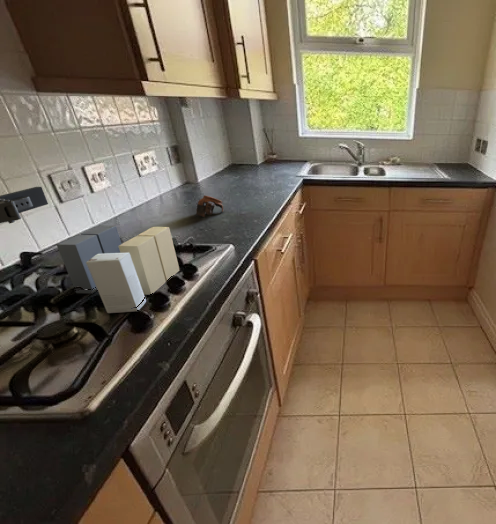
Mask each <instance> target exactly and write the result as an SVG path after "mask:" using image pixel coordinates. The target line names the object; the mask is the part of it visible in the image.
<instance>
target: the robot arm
mask: <svg viewBox="0 0 496 524" xmlns="http://www.w3.org/2000/svg"><path fill="white" fill-rule="evenodd" d="M47 205H49V202H48V199H47V197H46V195H45V192H44V190H43V187H42V186H34V187H33V186H32V187H30V188H26V189H21V190H17V191H13V192H9V193H5V194H1V195H0V224H3V223H8V224H13V223H15V222H16V221H19V220H21V219H22V217H21V215H20V214H21V213H24V212H27V211H32V210H34V209H37V208H40V207H43V206H47Z"/></svg>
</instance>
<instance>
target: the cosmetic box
mask: <svg viewBox="0 0 496 524" xmlns="http://www.w3.org/2000/svg"><path fill="white" fill-rule="evenodd" d="M86 264H87V266H88V268H89V271H90V273H91V275H92V278H93V280H94V282H95V285H96V287H97V290H98V291H97V292H98V294H99V297H100V299H101V301H102V303H103V306H104V309H105V311H106V313H107V314H116V313H132V312H138V311H137V310H139V311H140V310H141V309H142V308H143V307H144V305H145V304H146V303H147V299H146V295H144V293H143V290H142V288H141V285H140V282H139V279H138V276H137V273H136V270H135V267H134V265H133V262H132V259H131V256H130V253H107V254H97V255H95V256H94V257H93V258H91V259H90V260H89V261H87V262H86ZM144 297H145V299H144ZM143 299H144V301H143V302H142V300H143ZM141 302H142V303H141ZM140 303H141V304H140ZM139 304H140V305H139ZM138 305H139V306H138ZM137 306H138V307H137ZM133 307H137V308H133ZM131 308H133V309H131Z"/></svg>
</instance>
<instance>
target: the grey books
mask: <svg viewBox="0 0 496 524" xmlns="http://www.w3.org/2000/svg"><path fill="white" fill-rule="evenodd" d="M121 244H123V242H122V241H121V237H120V233H119V231H118V227H117V225H100V224H99V225H98V226H94V227H93V228H90V229H88V230H86V231H84V232H81V233H80V234H76V235H74V236H73V237H70V238H67V239H65V240H63V241H60V242H58V243H56V248H57V250H58V253H59V254H60V257H61V259H62V261H63V264H64V267H65V269H66V272H67V274H68V277H69V279H70V282H71V284H72V286H73V288H74V287H77V286H79V287H82V288H84V289H91V290H79V291H75V293H76V294H91V293H90V292H91V291H93V290H94V289H96V288H97V287H96V285H95V282H94V280H93V278H92V275H91V273H90V271H89V268H88V266H87V264H86V262H87V261H89V260H90V259H91V258H93V257H94V256H95V255H97V254H107V253H120V250H119V247H118V246H119V245H121ZM95 287H96V288H95ZM93 288H94V289H93ZM92 289H93V290H92Z"/></svg>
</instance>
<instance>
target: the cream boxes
mask: <svg viewBox="0 0 496 524" xmlns="http://www.w3.org/2000/svg"><path fill="white" fill-rule="evenodd" d="M118 247H119V250H120V253H130V256H131V259H132V262H133V265H134V267H135V270H136V273H137V276H138V279H139V282H140V285H141V288H142V290H143V293H144V296H147V295H148V296H151V295H150V294H152V293H153V294H154V293H156V291H158V290H159V289H160V288H161V287H162V286H163V285H164V284H166V282H168V281H169V280H170V279H171V278H172V277H171V276H173V275H174V276H175V275H176V274H177V273H178V272H180V266H179V262H178V258H177V253H176V250H175V245H174V242H173V236H172V233H171V228H170V226H152V227H150V228H148V229H146V230H144V231H143V232H141V233H139V234H137V235H135V236H134V237H132V238H130V239H128V240H126V241H124V242H122V244H121V245H119V246H118ZM174 276H173V277H174ZM170 277H171V278H170ZM169 278H170V279H169ZM168 279H169V280H168ZM167 280H168V281H167ZM153 294H152V295H153Z"/></svg>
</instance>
